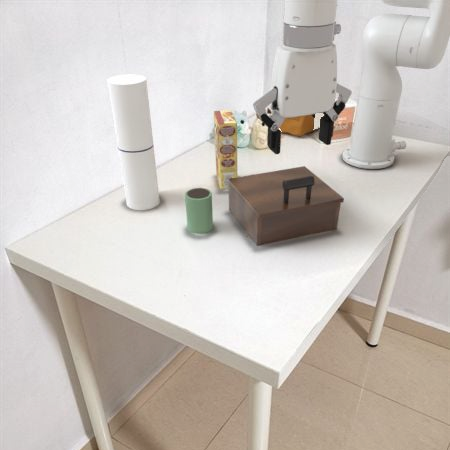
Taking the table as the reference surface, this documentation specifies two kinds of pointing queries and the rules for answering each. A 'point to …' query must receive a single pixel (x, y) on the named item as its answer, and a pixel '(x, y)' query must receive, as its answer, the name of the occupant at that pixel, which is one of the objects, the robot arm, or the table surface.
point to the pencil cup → (199, 210)
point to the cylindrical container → (134, 139)
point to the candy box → (225, 147)
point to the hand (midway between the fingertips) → (299, 146)
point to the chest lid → (284, 191)
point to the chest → (282, 221)
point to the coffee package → (298, 125)
